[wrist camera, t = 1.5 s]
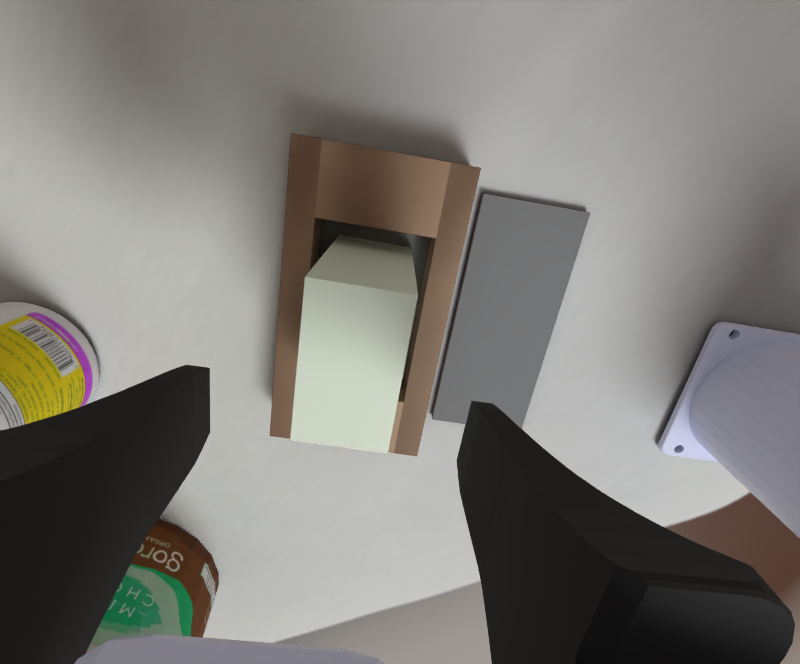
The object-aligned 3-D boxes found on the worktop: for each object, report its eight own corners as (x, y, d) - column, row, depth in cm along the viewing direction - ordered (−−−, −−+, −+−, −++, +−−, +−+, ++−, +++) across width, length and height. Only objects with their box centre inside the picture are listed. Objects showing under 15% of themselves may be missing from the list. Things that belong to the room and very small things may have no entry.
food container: (250, 519, 27) (172, 707, 18) (241, 588, 29) (167, 788, 20) (43, 483, 26) (-155, 663, 17) (49, 558, 28) (-123, 754, 19)
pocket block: (471, 167, 20) (480, 168, 17) (415, 428, 25) (417, 456, 22) (304, 136, 19) (291, 133, 17) (282, 409, 24) (269, 435, 22)
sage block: (411, 247, 21) (418, 295, 13) (391, 359, 23) (388, 453, 16) (339, 235, 21) (304, 276, 13) (326, 349, 23) (290, 439, 15)
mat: (586, 211, 20) (590, 212, 20) (518, 427, 25) (520, 431, 24) (482, 193, 20) (483, 193, 20) (431, 415, 24) (432, 419, 24)
